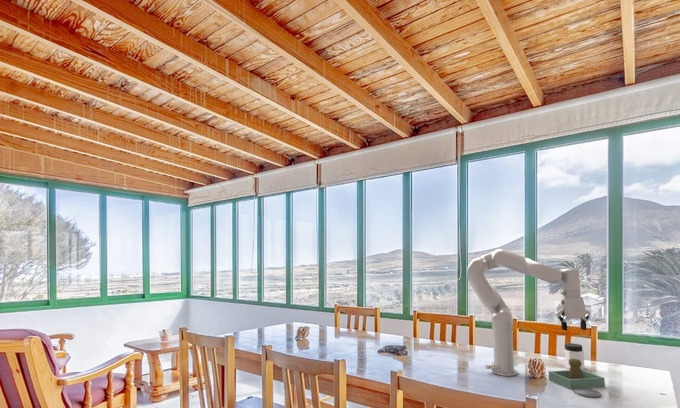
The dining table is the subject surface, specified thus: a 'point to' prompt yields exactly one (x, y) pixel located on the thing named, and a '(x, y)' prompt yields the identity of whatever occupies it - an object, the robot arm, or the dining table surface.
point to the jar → (574, 354)
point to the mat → (587, 392)
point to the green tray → (587, 381)
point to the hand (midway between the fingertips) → (574, 329)
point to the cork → (575, 369)
